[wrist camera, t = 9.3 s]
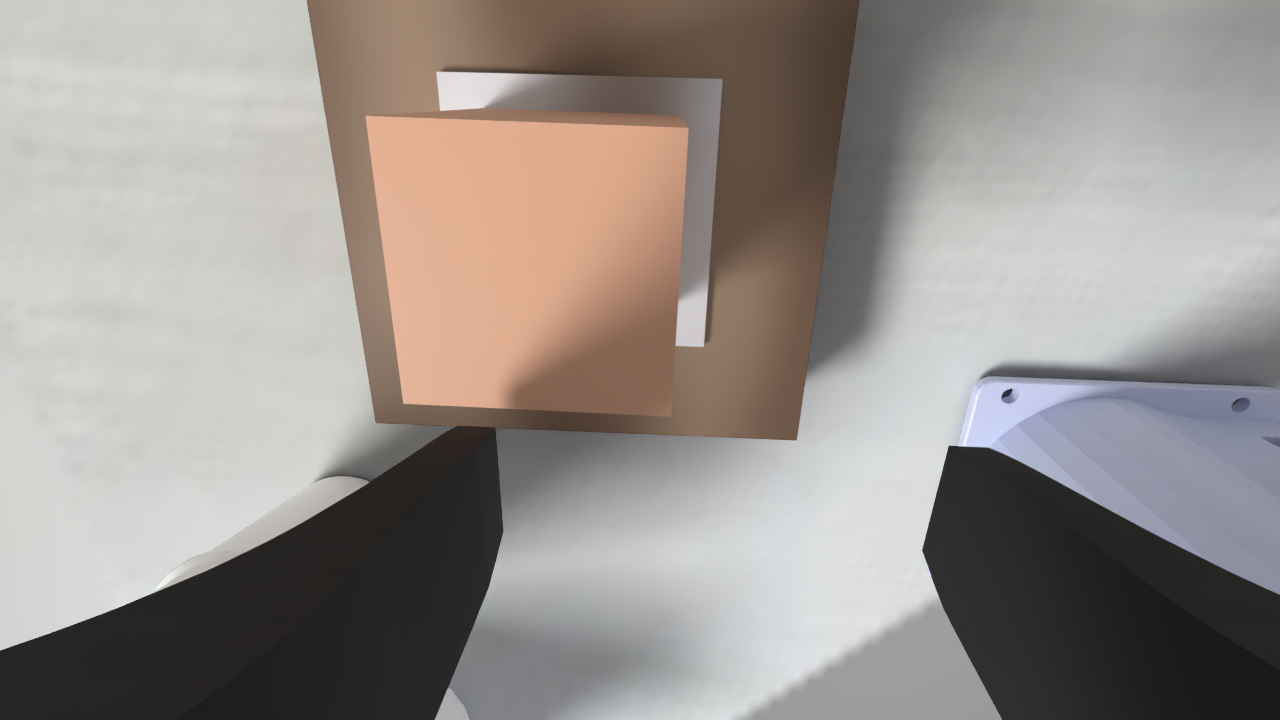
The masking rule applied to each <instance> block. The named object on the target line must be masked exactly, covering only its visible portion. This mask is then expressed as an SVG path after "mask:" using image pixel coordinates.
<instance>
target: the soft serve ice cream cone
mask: <svg viewBox="0 0 1280 720" xmlns="http://www.w3.org/2000/svg"><path fill="white" fill-rule="evenodd" d="M368 483H369V481H366V480H364V479H361V478H355V477H350V476H336V477H330V478H325V479H322V480H319V481H316V482H314V483H313V484H311V485H310V486H308V487H307V488H305V489H304V490H302V491H301V492H299V493H298V494H296V495H295V496H293V497H292V498H290V499H289V500H287V501H286V502H284V503H283V504H281V505H280V506H278V507H277V508H275V509H274V510H272V511H271V512H269V513H268V514H266V515H265V516H263V517H262V518H260V519H259V520H257V521H255V522H254V523H252V524H251V525H249V526H248V527H246V528H245V529H243V530H242V531H240V532H239V533H237V534H236V535H234V536H233V537H231V538H230V539H228V540H227V541H225V542H224V543H222V544H221V545H219V546H218V547H216V548H215V549H213V550H212V551H209V552H206V553H204V554H201V555H198V556H195V557H193V558H190V559H188V560H187V561H185V562H184V563H182V564H181V565H179V566H177V567H176V568H174V569H173V570H172V571H171V572H170V573H169V574H168V575H167V576H166V577H165V578H164V579H163V581H162V582H161V583H160V584H159V585H158V587H157V588H156V590H155V592H157V591H160V590H162V589H164V588H167V587H169V586H171V585H174V584H176V583H178V582H181V581H183V580H186V579H188V578H190V577H193V576H195V575H197V574H200V573H202V572H205V571H207V570H209V569H211V568H213V567H216V566H218V565H220V564H222V563H224V562H226V561H228V560H230V559H232V558H234V557H236V556H238V555H241V554H243V553H245V552H247V551H249V550H251V549H253V548H255V547H257V546H259V545H261V544H263V543H265V542H267V541H269V540H271V539H273V538H275V537H276V536H278V535H280V534H282V533H284V532H286V531H288V530H290V529H291V528H293V527H295V526H297V525H299V524H301V523H302V522H304V521H306V520H308V519H309V518H311V517H313V516H314V515H316V514H318V513H319V512H321V511H323V510H324V509H326V508H328V507H329V506H331V505H333V504H334V503H336V502H338V501H340V500H341V499H343V498H345V497H346V496H348V495H350V494H351V493H353V492H355V491H356V490H358V489H360V488H361V487H363V486H365V485H366V484H368ZM155 592H154V593H155Z"/></svg>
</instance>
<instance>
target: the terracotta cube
mask: <svg viewBox="0 0 1280 720" xmlns="http://www.w3.org/2000/svg"><path fill="white" fill-rule="evenodd" d="M365 117H366V124H367V132H368V139H369V147H370V155H371V162H372V170H373V177H374V185H375V193H376V200H377V208H378V215H379V223H380V231H381V238H382V246H383V253H384V261H385V269H386V276H387V284H388V291H389V299H390V307H391V314H392V322H393V329H394V337H395V345H396V352H397V360H398V367H399V375H400V383H401V390H402V398H403V404H420V405H440V406H461V407H482V408H502V409H523V410H544V411H564V412H585V413H605V414H626V415H647V416H667V417H671V413H672V396H673V380H674V363H675V347H676V330H677V313H678V297H679V280H680V264H681V247H682V230H683V214H684V197H685V181H686V164H687V148H688V131H689V128H688V126H687V125H686V123H685V122H684V120H683V119H682V117H681V116H680V115H657V114H630V113H603V112H576V111H549V110H522V109H495V108H476V109H461V110H446V111H431V112H416V113H401V114H385V115H370V116H365Z"/></svg>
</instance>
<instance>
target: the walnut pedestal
mask: <svg viewBox="0 0 1280 720" xmlns="http://www.w3.org/2000/svg"><path fill="white" fill-rule="evenodd" d="M307 5H308V11H309V17H310V23H311V29H312V35H313V41H314V48H315V54H316V60H317V66H318V72H319V78H320V84H321V90H322V96H323V103H324V109H325V115H326V121H327V127H328V133H329V139H330V145H331V152H332V158H333V164H334V170H335V176H336V182H337V188H338V194H339V201H340V207H341V213H342V219H343V225H344V231H345V237H346V243H347V249H348V256H349V262H350V268H351V274H352V280H353V286H354V292H355V298H356V305H357V311H358V317H359V323H360V329H361V335H362V341H363V347H364V353H365V360H366V366H367V372H368V378H369V384H370V390H371V396H372V402H373V409H374V415H375V421H376V423H388V424H413V425H437V426H479V427H495V428H510V429H534V430H558V431H582V432H607V433H631V434H655V435H680V436H704V437H728V438H752V439H777V440H797V434H798V427H799V420H800V413H801V406H802V399H803V392H804V385H805V378H806V371H807V364H808V357H809V350H810V343H811V336H812V329H813V322H814V315H815V308H816V301H817V294H818V287H819V280H820V273H821V266H822V259H823V252H824V245H825V238H826V231H827V224H828V217H829V210H830V203H831V196H832V189H833V182H834V175H835V168H836V161H837V154H838V147H839V140H840V133H841V126H842V119H843V112H844V105H845V98H846V91H847V84H848V77H849V70H850V63H851V56H852V49H853V42H854V34H855V27H856V20H857V13H858V6H859V0H307ZM476 108H495V109H522V110H549V111H576V112H603V113H630V114H657V115H680V116H681V117H682V119H683V120H684V122H685V123H686V125H687V126H688V128H689V131H688V148H687V164H686V181H685V197H684V214H683V230H682V247H681V264H680V280H679V297H678V313H677V330H676V347H675V363H674V380H673V396H672V413H671V417H667V416H647V415H626V414H605V413H585V412H564V411H544V410H523V409H502V408H482V407H461V406H440V405H420V404H403V398H402V390H401V383H400V375H399V367H398V360H397V352H396V345H395V337H394V329H393V322H392V314H391V307H390V299H389V291H388V284H387V276H386V269H385V261H384V253H383V246H382V238H381V231H380V223H379V215H378V208H377V200H376V193H375V185H374V177H373V170H372V162H371V155H370V147H369V139H368V132H367V124H366V117H365V116H370V115H385V114H401V113H416V112H431V111H446V110H461V109H476Z"/></svg>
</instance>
